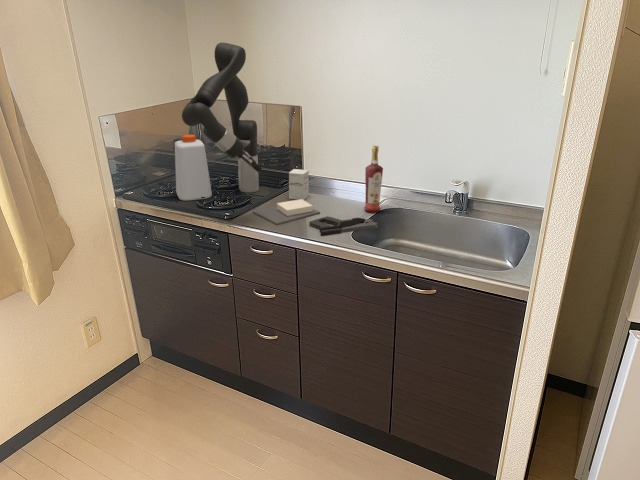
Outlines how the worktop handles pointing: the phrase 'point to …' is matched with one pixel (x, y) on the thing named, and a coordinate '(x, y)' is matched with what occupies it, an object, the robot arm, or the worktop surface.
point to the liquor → (373, 182)
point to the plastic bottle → (191, 169)
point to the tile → (294, 207)
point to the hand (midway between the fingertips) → (259, 170)
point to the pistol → (341, 225)
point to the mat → (281, 215)
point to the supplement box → (298, 184)
